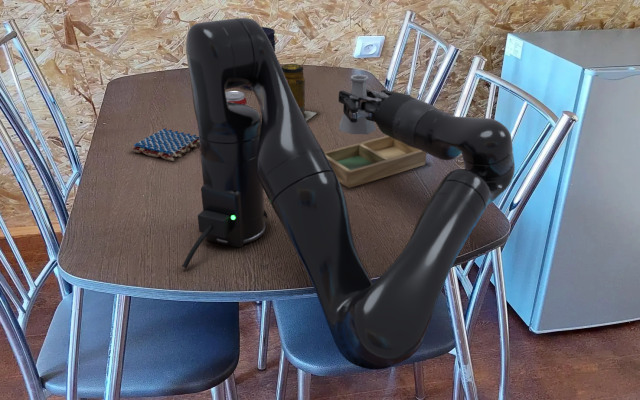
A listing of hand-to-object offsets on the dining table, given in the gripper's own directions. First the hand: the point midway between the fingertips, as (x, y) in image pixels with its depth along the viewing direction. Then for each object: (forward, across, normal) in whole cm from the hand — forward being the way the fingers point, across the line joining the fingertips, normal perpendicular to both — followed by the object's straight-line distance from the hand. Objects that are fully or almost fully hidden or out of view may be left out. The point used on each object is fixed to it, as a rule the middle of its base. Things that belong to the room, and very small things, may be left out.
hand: (349, 94), depth 106 cm
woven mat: (+28, -27, -15) cm, 41 cm away
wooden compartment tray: (-2, +5, -15) cm, 16 cm away
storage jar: (+56, +10, -15) cm, 59 cm away
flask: (-3, 0, -6) cm, 7 cm away
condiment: (+30, +6, -15) cm, 34 cm away
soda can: (+19, -15, -15) cm, 29 cm away
